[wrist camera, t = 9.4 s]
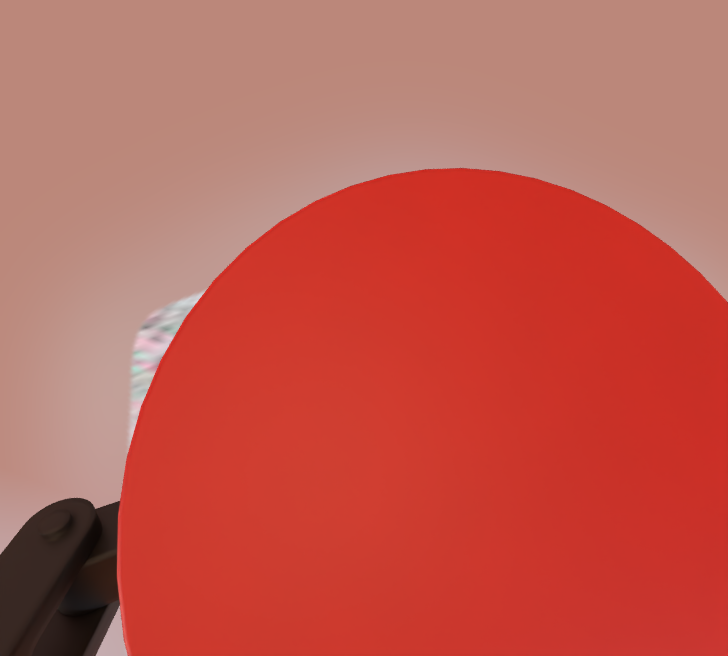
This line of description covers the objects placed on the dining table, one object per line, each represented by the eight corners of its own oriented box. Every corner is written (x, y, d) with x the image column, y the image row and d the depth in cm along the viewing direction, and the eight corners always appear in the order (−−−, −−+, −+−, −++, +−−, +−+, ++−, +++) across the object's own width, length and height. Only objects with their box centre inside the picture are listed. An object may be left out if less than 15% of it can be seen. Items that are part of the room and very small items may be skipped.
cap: (503, 313, 6) (721, 171, 3) (549, 602, 5) (967, 891, 2) (241, 320, 5) (144, 156, 2) (237, 643, 4) (61, 1136, 1)
